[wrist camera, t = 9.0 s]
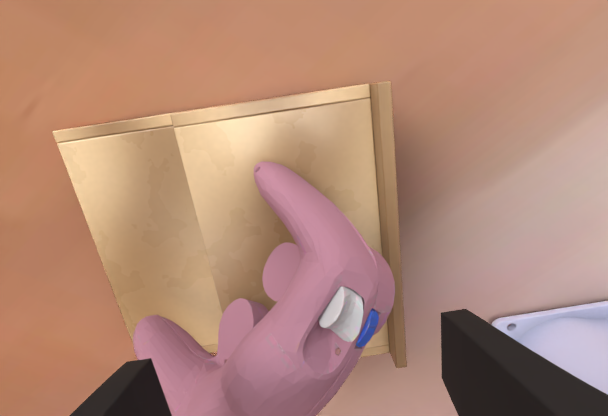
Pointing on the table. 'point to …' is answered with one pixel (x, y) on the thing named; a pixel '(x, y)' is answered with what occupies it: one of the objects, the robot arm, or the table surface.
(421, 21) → the table surface
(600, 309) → the robot arm
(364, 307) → the video game controller
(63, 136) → the step shelf
